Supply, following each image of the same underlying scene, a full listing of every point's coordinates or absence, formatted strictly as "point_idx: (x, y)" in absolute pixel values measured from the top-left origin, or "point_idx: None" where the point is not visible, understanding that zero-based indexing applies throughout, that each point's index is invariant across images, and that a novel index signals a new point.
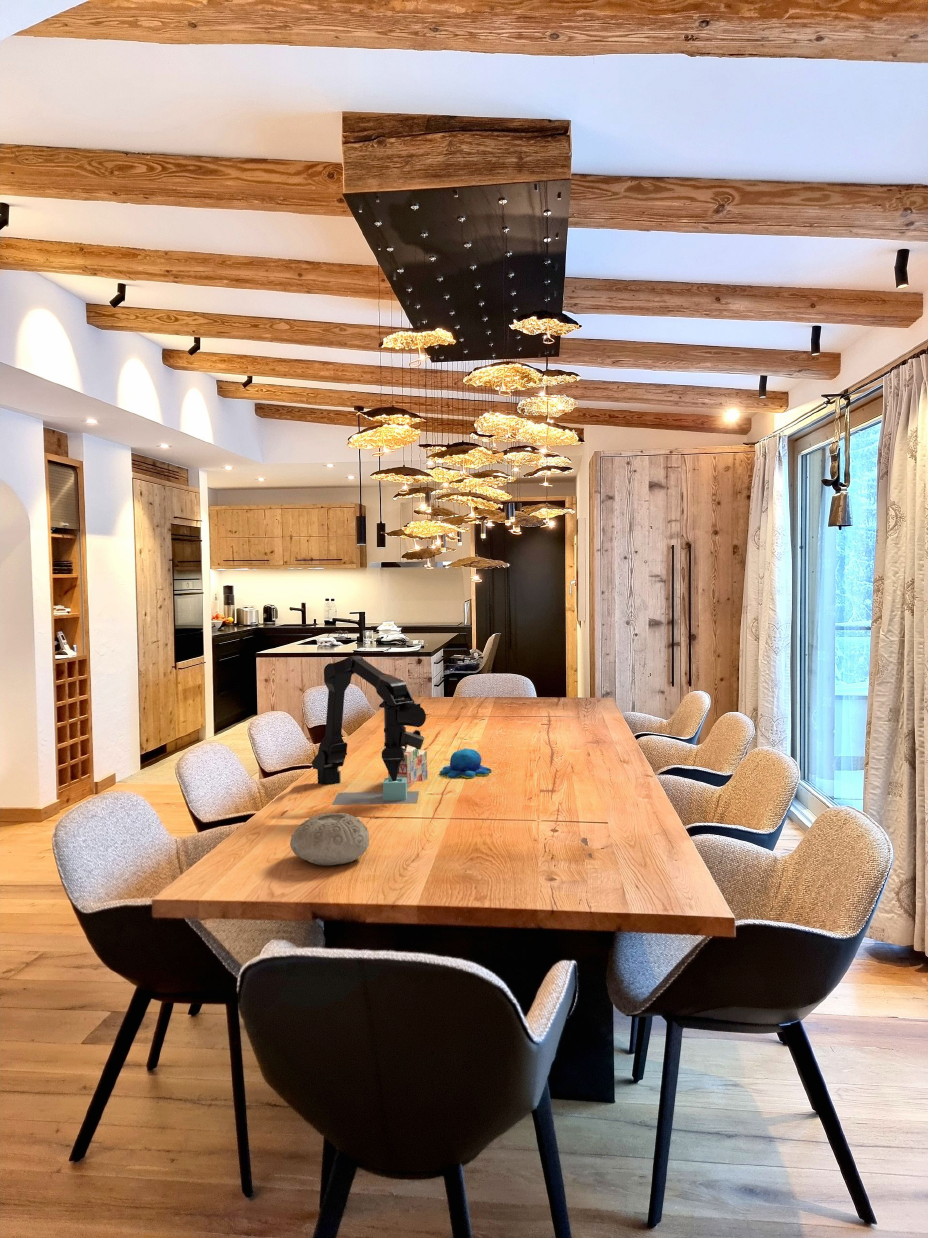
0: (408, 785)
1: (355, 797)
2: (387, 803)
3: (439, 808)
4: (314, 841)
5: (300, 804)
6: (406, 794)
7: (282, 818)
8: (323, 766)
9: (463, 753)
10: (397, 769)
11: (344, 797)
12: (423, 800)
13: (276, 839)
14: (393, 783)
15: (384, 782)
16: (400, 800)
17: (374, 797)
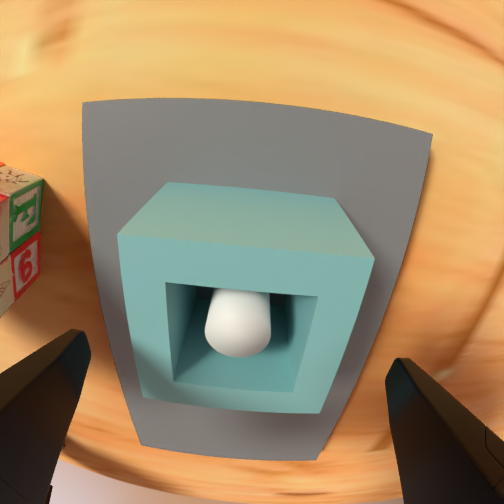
0: (4, 186)
1: (218, 419)
2: (383, 307)
3: (433, 6)
4: None
5: (224, 483)
6: (262, 196)
7: (352, 488)
8: (48, 495)
9: None
10: (490, 436)
11: (214, 442)
12: (211, 64)
13: None
14: (341, 354)
15: (306, 407)
16: None
17: None
